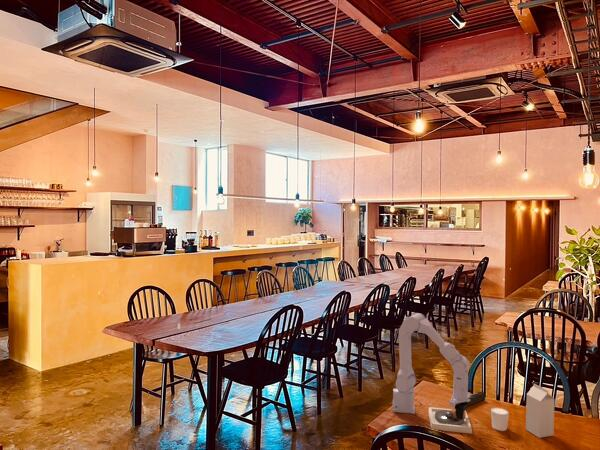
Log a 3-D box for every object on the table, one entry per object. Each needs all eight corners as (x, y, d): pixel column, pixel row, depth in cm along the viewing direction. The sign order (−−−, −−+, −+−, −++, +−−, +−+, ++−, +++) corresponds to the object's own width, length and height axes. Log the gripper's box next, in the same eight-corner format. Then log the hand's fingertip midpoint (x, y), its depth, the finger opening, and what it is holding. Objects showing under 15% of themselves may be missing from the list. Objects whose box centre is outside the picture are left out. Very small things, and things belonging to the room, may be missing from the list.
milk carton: (539, 438, 175) (540, 391, 174) (525, 429, 182) (526, 384, 181) (553, 435, 177) (555, 389, 176) (539, 427, 184) (540, 382, 183)
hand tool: (478, 398, 212) (478, 388, 212) (485, 401, 209) (485, 391, 209) (452, 407, 202) (452, 397, 202) (459, 411, 199) (459, 400, 199)
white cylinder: (509, 426, 185) (509, 409, 184) (507, 433, 179) (508, 416, 178) (491, 421, 188) (491, 405, 188) (489, 428, 182) (489, 412, 182)
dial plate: (431, 429, 182) (431, 423, 181) (428, 411, 197) (428, 406, 197) (472, 433, 178) (472, 427, 178) (466, 415, 194) (466, 410, 194)
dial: (436, 424, 183) (436, 415, 182) (432, 411, 194) (432, 402, 194) (468, 426, 181) (468, 417, 180) (462, 413, 192) (462, 404, 192)
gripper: (461, 394, 176) (460, 427, 177) (477, 384, 186) (476, 416, 187) (445, 389, 182) (444, 421, 182) (461, 380, 191) (461, 410, 192)
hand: (459, 418), depth 185 cm, fingers closed, pressing on dial
